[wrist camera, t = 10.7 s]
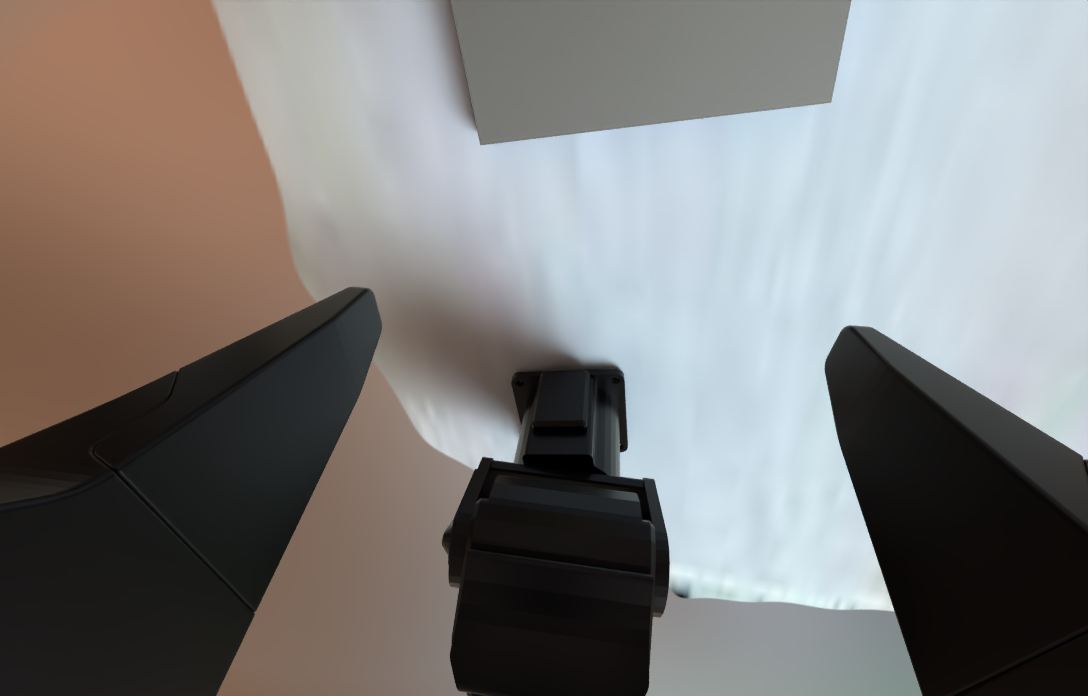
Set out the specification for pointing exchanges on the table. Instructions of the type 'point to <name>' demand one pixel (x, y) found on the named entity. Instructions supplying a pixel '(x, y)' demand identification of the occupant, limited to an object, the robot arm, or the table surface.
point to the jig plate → (641, 61)
